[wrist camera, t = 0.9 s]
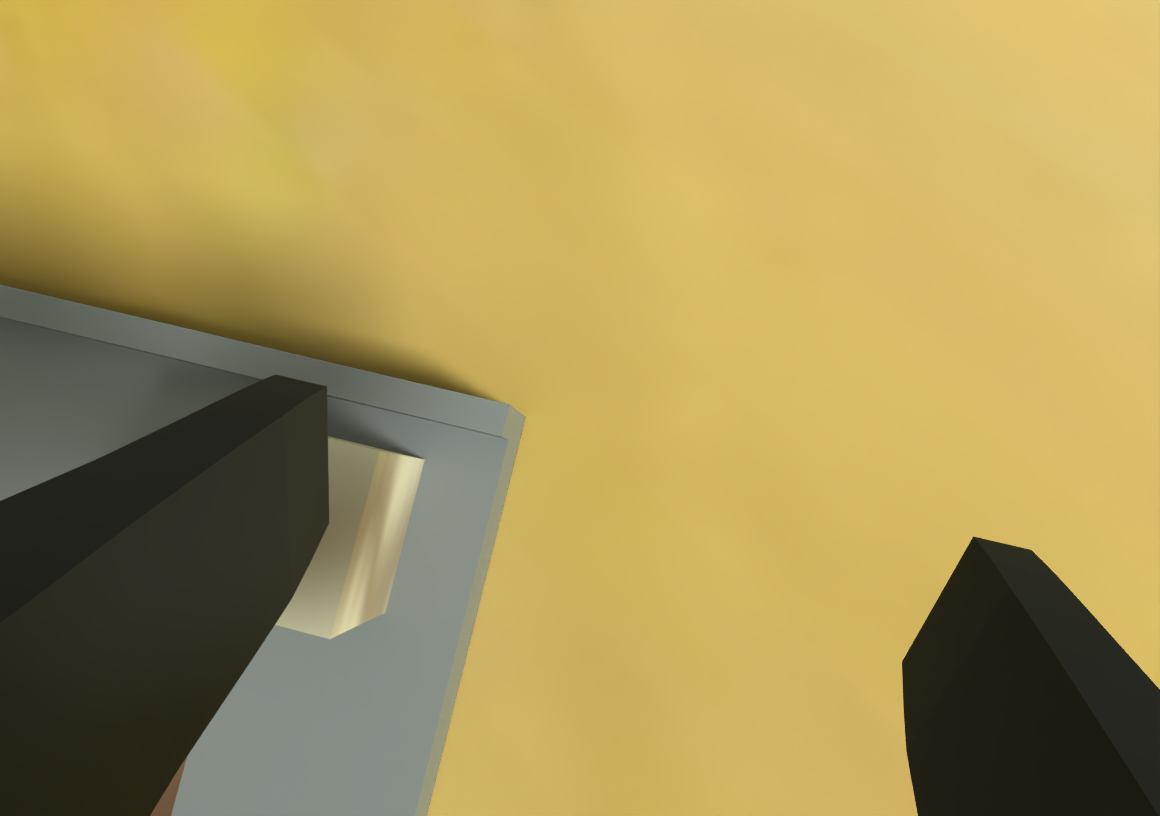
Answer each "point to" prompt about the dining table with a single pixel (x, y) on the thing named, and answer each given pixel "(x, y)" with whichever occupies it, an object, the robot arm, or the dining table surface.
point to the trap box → (287, 657)
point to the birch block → (356, 540)
